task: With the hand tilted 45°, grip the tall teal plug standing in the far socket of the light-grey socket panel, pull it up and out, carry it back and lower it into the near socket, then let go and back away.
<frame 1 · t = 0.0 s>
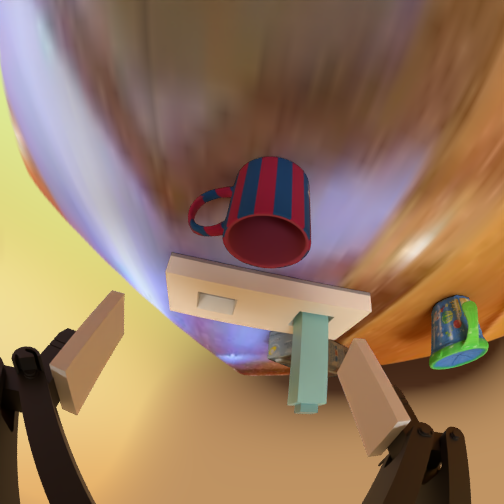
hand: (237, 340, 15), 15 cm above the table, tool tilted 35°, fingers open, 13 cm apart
plug: (310, 306, 43), resting on socket panel
socket panel: (266, 295, 42), on the table
sippy cup: (450, 302, 40), on the table
beverage carton: (313, 339, 57), on the table
cup: (254, 181, 26), on the table
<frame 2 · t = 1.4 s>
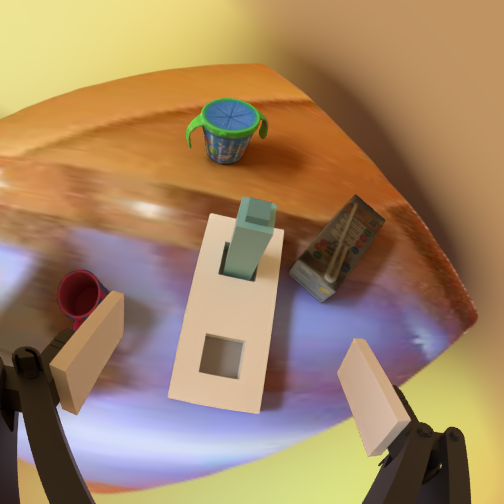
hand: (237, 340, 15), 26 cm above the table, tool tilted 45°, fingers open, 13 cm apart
plug: (237, 267, 44), resting on socket panel
socket panel: (229, 312, 42), on the table
sippy cup: (224, 153, 55), on the table
beverage carton: (332, 253, 50), on the table
cup: (92, 318, 37), on the table
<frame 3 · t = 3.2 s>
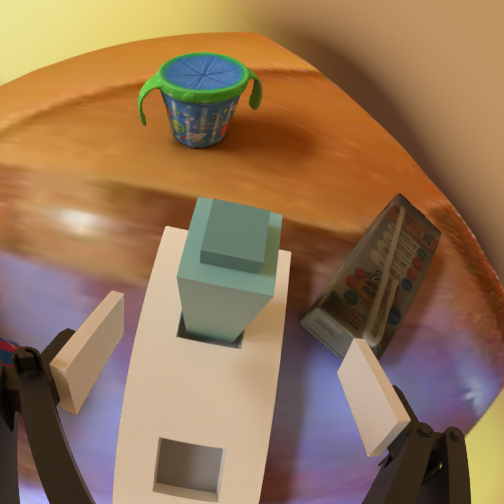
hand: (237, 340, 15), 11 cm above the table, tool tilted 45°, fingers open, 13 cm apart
plug: (212, 318, 26), resting on socket panel
socket panel: (199, 393, 23), on the table
sippy cup: (198, 132, 36), on the table
beverage carton: (365, 284, 31), on the table
cup: (8, 386, 18), on the table
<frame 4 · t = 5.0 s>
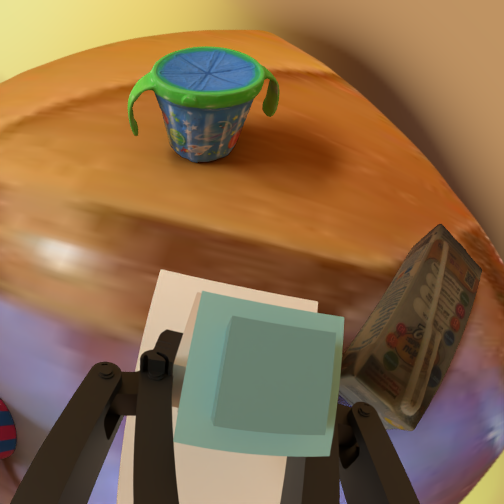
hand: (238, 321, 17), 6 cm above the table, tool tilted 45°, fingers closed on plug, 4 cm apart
plug: (221, 382, 20), point 1 cm above the table, touching gripper, socket panel
socket panel: (207, 464, 17), on the table
sippy cup: (201, 143, 31), on the table
beverage carton: (398, 330, 25), on the table
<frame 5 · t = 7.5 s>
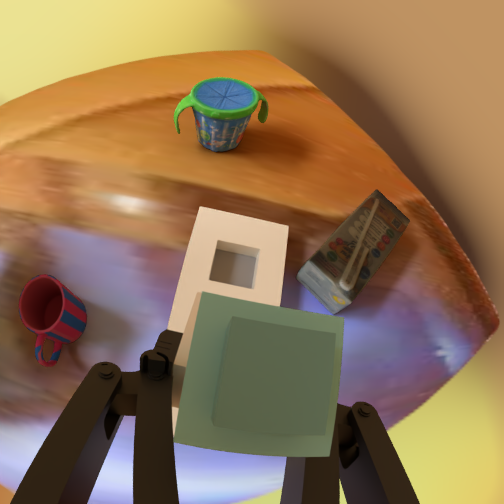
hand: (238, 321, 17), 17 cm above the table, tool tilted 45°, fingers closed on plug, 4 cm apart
plug: (221, 382, 20), point 12 cm above the table, touching gripper
socket panel: (222, 325, 34), on the table
sippy cup: (218, 140, 48), on the table
beverage carton: (348, 257, 42), on the table
cup: (63, 330, 29), on the table
when the fingers open (6 cm above the table, at t = 10.1 s): plug stays where it is, resting on socket panel.
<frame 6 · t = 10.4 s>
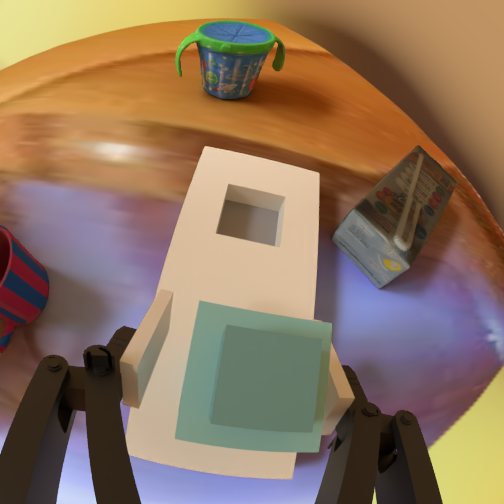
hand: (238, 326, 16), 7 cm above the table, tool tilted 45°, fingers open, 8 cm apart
plug: (220, 383, 20), resting on socket panel
socket panel: (234, 301, 24), on the table
sippy cup: (226, 89, 38), on the table
beverage carton: (390, 221, 32), on the table
cup: (19, 308, 20), on the table
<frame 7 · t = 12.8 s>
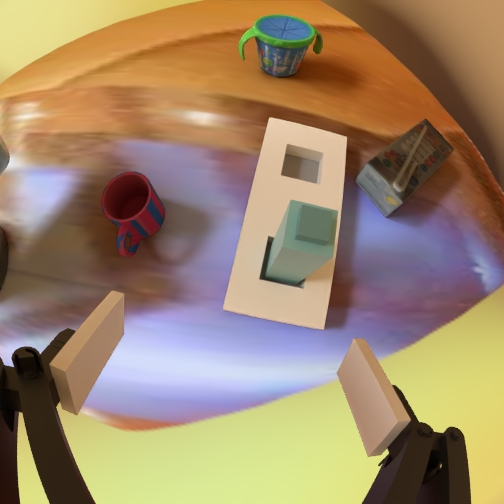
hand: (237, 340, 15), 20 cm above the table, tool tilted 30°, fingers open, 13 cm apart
plug: (282, 266, 36), resting on socket panel
socket panel: (291, 217, 39), on the table
sippy cup: (278, 67, 47), on the table
beverage carton: (399, 172, 42), on the table
cup: (139, 228, 38), on the table
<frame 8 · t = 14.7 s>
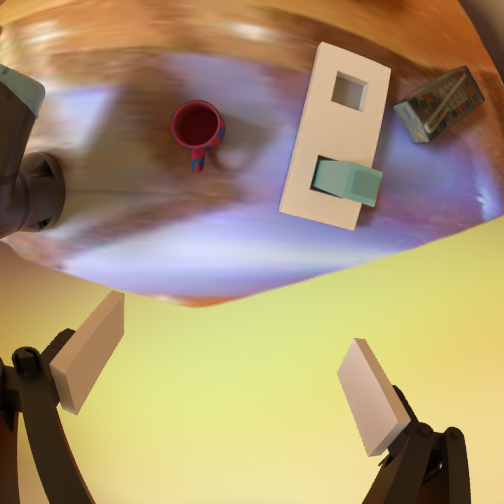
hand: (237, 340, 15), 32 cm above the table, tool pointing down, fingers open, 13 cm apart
plug: (326, 176, 43), resting on socket panel
socket panel: (335, 134, 41), on the table
beverage carton: (432, 104, 39), on the table
cup: (201, 139, 41), on the table
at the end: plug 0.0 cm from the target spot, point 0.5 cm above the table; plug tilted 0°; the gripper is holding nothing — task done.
